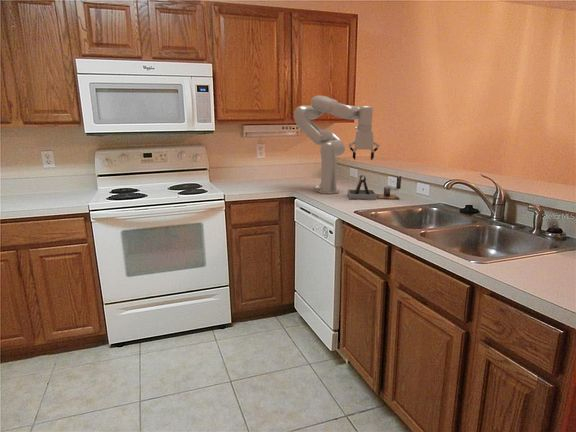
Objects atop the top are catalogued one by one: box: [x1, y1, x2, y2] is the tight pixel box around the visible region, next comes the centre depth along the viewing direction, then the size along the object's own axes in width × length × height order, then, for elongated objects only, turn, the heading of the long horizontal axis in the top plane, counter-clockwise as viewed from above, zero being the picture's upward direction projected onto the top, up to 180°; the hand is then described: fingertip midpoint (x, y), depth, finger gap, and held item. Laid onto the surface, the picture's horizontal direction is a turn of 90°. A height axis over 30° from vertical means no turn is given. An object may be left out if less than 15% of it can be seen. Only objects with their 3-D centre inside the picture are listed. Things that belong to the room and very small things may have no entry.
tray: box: [347, 189, 378, 201], centre depth 228 cm, size 15×16×3 cm
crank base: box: [376, 193, 400, 201], centre depth 227 cm, size 12×12×1 cm
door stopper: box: [354, 174, 369, 194], centre depth 227 cm, size 9×6×12 cm, turn 85°
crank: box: [383, 175, 402, 196], centre depth 224 cm, size 10×4×12 cm, turn 55°
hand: (363, 159), depth 223 cm, fingers open, 9 cm apart
